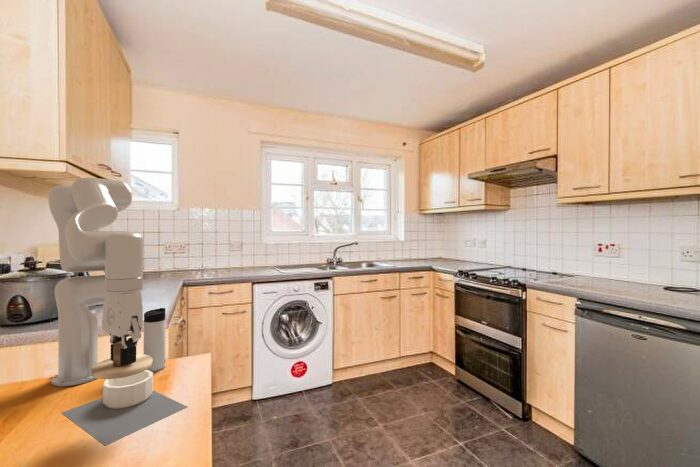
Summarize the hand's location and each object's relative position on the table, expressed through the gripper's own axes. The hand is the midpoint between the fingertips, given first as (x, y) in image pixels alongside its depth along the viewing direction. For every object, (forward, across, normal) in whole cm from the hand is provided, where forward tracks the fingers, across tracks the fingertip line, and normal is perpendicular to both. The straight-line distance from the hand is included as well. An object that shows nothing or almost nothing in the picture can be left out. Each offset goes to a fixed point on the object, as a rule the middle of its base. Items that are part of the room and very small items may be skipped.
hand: (123, 360), depth 79 cm
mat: (+15, -5, +3) cm, 16 cm away
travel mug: (+16, -25, +21) cm, 36 cm away
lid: (+2, 0, 0) cm, 2 cm away
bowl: (+15, -11, +6) cm, 19 cm away
